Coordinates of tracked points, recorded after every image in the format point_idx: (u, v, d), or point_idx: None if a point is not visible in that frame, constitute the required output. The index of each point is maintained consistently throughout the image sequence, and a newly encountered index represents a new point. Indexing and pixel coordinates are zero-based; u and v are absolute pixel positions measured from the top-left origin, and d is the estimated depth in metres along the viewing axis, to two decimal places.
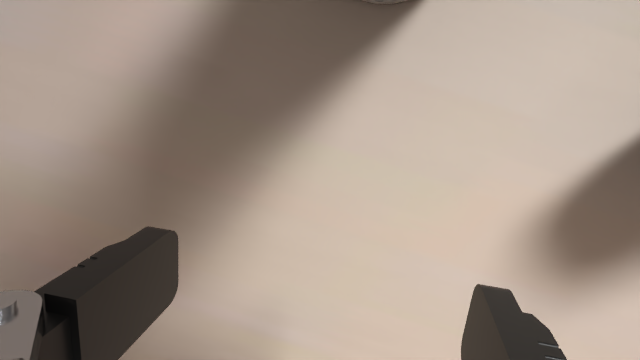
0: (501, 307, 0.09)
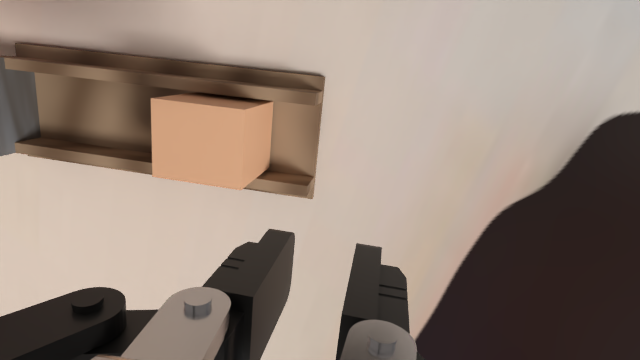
0: (364, 259, 0.10)
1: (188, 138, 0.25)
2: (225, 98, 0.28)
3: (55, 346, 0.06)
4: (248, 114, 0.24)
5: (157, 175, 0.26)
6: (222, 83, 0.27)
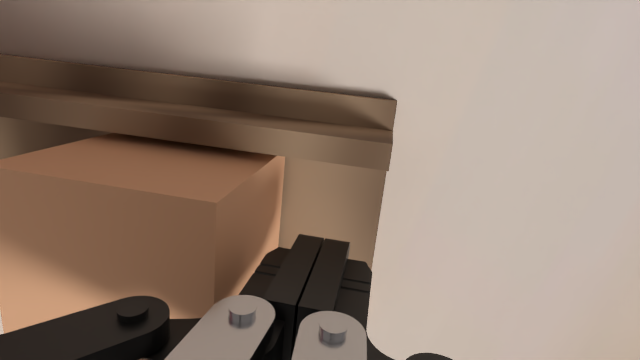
0: (330, 253, 0.10)
1: (78, 263, 0.10)
2: (184, 147, 0.13)
3: (97, 356, 0.06)
4: (228, 207, 0.10)
5: None
6: (180, 117, 0.12)
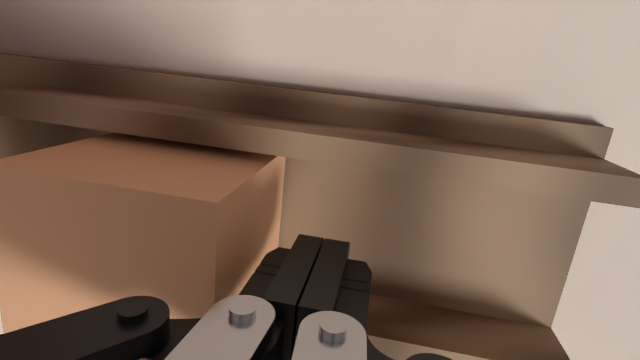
0: (330, 253, 0.10)
1: (79, 262, 0.10)
2: (185, 147, 0.13)
3: (97, 357, 0.06)
4: (229, 207, 0.10)
5: None
6: (401, 147, 0.12)
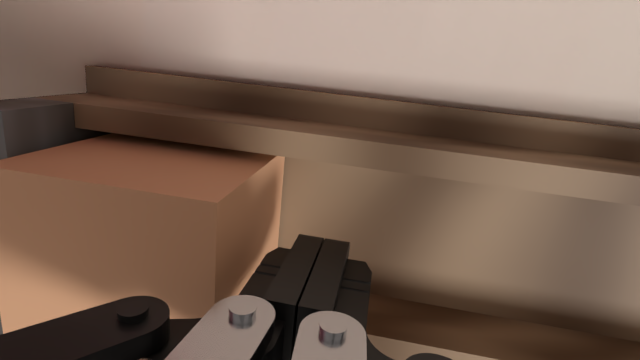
0: (330, 253, 0.10)
1: (79, 264, 0.10)
2: (184, 147, 0.13)
3: (96, 357, 0.06)
4: (229, 207, 0.10)
5: None
6: None
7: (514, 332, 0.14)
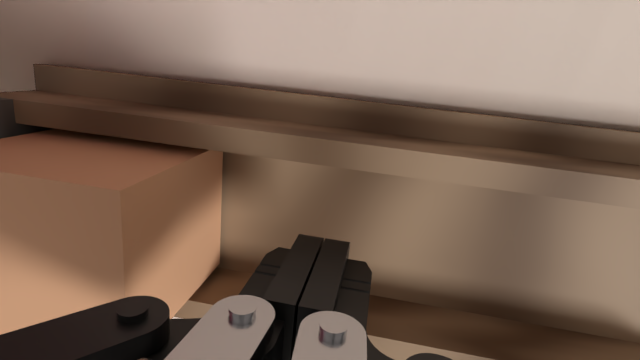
0: (330, 253, 0.10)
1: None
2: (120, 141, 0.14)
3: (97, 356, 0.06)
4: (138, 196, 0.10)
5: None
6: (551, 169, 0.11)
7: (443, 320, 0.15)
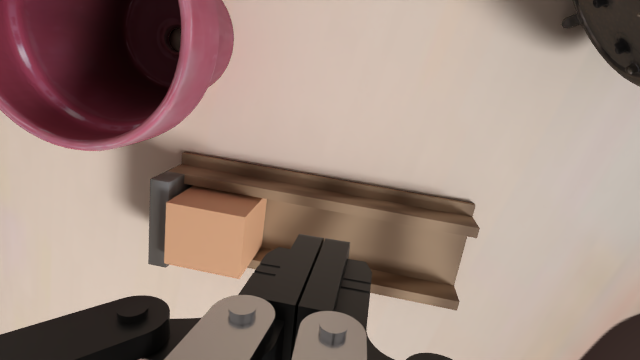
0: (330, 253, 0.10)
1: (196, 235, 0.30)
2: (227, 192, 0.33)
3: (97, 356, 0.06)
4: (247, 218, 0.30)
5: (168, 262, 0.31)
6: (392, 212, 0.31)
7: None
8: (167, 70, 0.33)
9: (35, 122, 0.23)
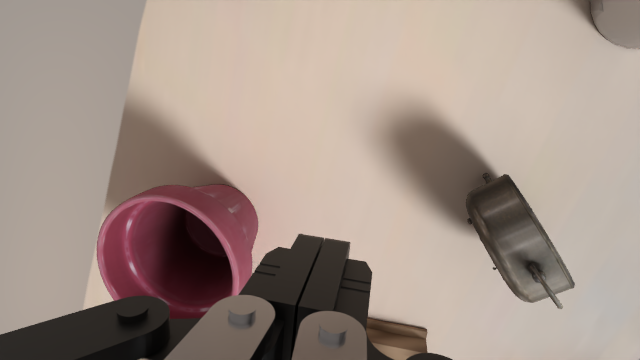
0: (330, 253, 0.10)
1: None
2: None
3: (97, 356, 0.06)
4: None
5: None
6: None
7: None
8: (214, 244, 0.48)
9: None
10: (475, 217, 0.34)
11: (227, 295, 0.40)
